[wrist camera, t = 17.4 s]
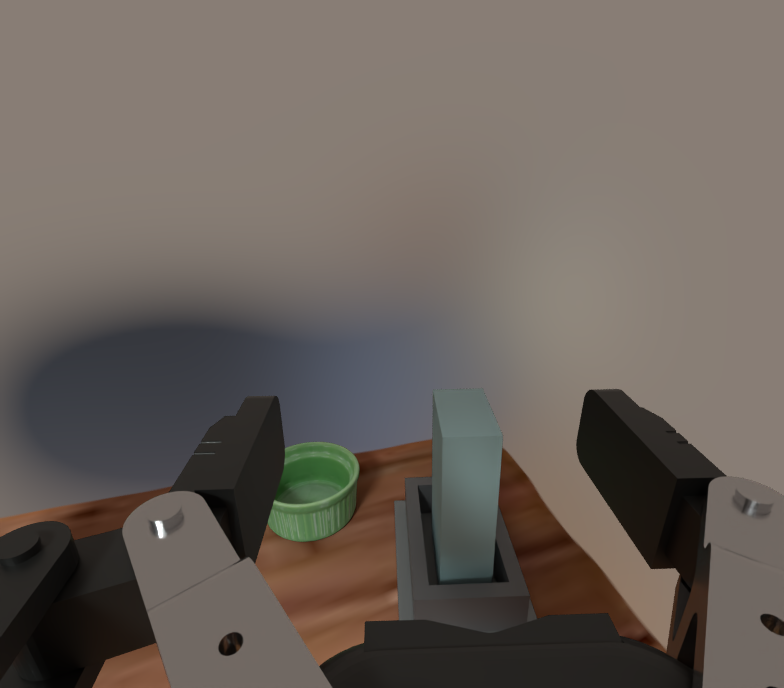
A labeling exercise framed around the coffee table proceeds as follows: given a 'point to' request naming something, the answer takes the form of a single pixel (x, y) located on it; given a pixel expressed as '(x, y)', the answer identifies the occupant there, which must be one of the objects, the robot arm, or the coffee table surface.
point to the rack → (455, 601)
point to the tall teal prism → (464, 485)
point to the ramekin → (315, 492)
